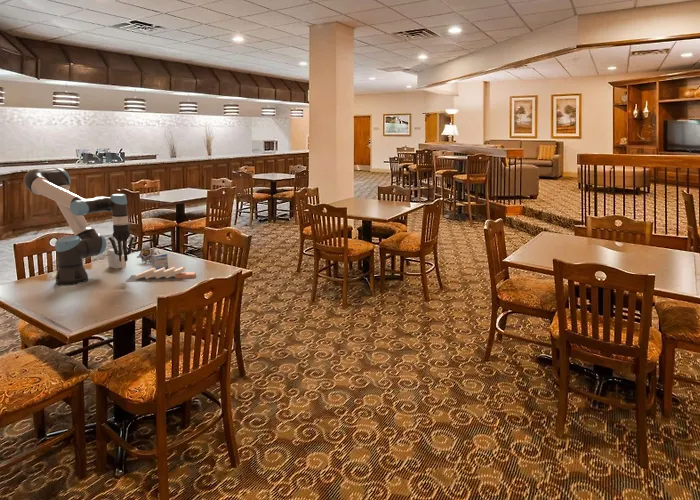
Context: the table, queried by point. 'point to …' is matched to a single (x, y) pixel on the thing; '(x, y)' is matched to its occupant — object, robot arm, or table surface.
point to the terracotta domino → (186, 275)
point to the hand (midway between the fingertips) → (124, 267)
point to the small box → (114, 259)
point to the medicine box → (159, 261)
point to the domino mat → (151, 279)
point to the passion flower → (147, 253)
